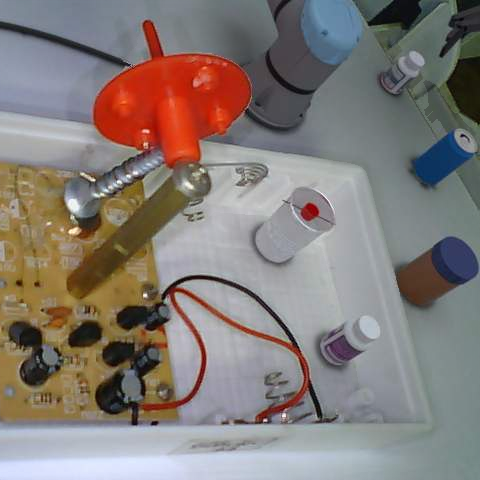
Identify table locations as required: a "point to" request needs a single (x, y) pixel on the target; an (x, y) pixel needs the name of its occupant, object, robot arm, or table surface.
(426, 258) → the jar
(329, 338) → the pill bottle
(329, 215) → the striped cup with float
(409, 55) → the pill bottle
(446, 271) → the lid
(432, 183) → the beverage can
